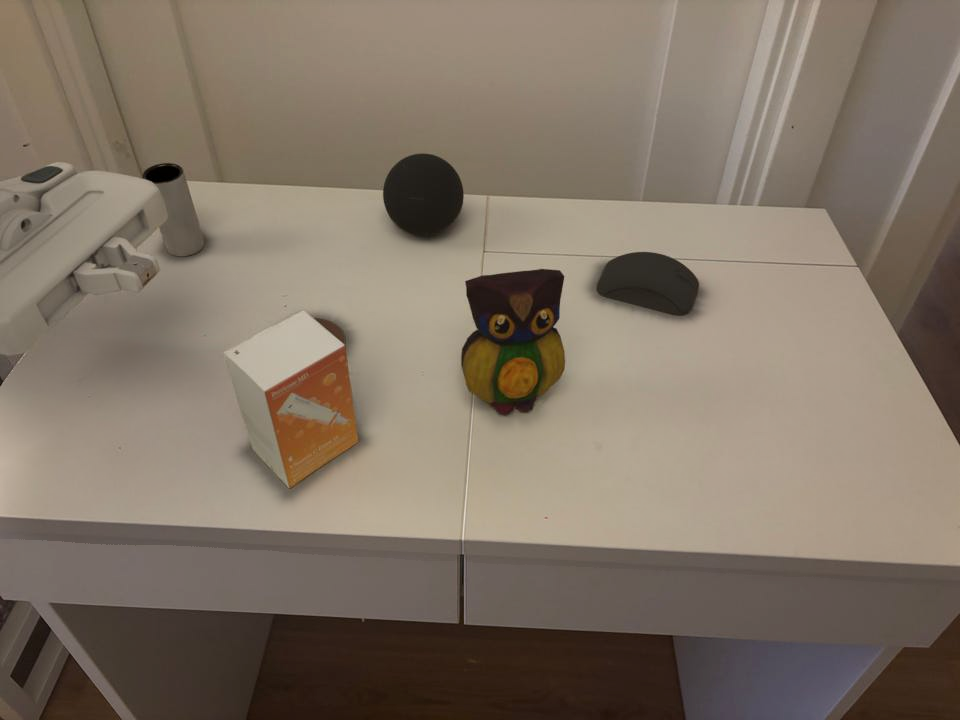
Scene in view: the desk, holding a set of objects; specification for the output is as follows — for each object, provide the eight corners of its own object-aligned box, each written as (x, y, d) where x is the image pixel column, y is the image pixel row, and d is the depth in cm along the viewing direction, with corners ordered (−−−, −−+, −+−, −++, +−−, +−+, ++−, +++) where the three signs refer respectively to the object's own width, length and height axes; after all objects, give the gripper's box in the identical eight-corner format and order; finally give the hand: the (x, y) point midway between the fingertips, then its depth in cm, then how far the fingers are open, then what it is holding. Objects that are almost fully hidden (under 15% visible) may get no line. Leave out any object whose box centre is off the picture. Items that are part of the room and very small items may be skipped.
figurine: (468, 429, 73) (469, 313, 62) (456, 378, 77) (455, 262, 67) (565, 415, 74) (582, 300, 63) (547, 366, 79) (560, 251, 68)
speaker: (407, 260, 91) (402, 189, 84) (373, 219, 97) (366, 150, 90) (477, 237, 95) (478, 167, 88) (440, 199, 101) (439, 131, 94)
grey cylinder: (176, 233, 95) (152, 160, 87) (210, 237, 94) (189, 164, 87) (160, 255, 91) (134, 181, 84) (195, 258, 91) (172, 184, 84)
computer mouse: (689, 319, 85) (697, 291, 82) (593, 294, 87) (598, 267, 85) (699, 286, 89) (707, 259, 86) (607, 263, 92) (612, 237, 89)
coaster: (301, 382, 77) (301, 380, 76) (254, 345, 80) (254, 343, 80) (360, 343, 81) (360, 341, 81) (313, 310, 85) (312, 308, 84)
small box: (290, 491, 67) (262, 392, 58) (251, 450, 70) (220, 351, 61) (361, 442, 71) (346, 343, 62) (322, 406, 74) (302, 307, 65)
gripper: (-119, 288, 54) (44, 328, 51) (70, 151, 67) (206, 177, 65) (-75, 351, 58) (77, 391, 55) (94, 210, 72) (222, 237, 69)
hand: (148, 274), depth 60 cm, fingers closed
